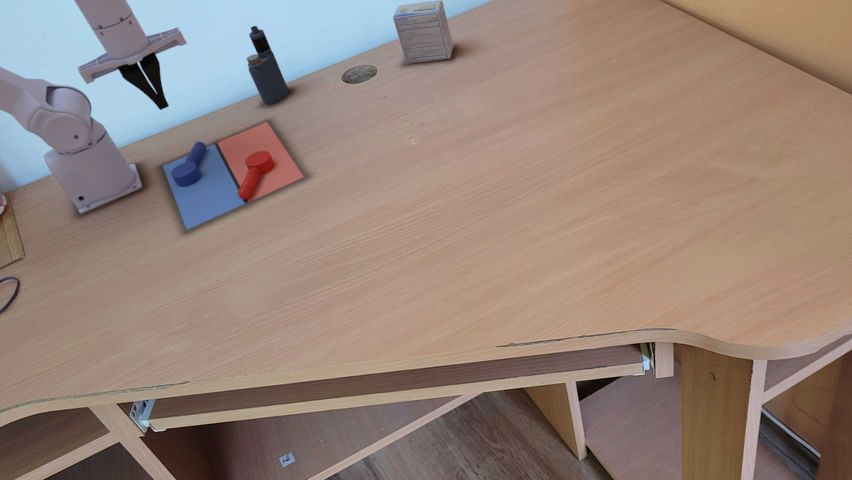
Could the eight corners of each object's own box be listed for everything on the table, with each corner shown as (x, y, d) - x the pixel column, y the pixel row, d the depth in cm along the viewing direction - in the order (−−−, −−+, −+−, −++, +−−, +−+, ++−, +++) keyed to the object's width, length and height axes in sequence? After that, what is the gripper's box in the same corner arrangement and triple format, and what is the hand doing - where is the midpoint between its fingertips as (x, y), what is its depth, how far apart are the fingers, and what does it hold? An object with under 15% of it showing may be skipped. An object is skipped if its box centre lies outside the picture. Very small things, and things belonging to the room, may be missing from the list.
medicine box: (454, 47, 124) (442, -2, 118) (450, 60, 121) (438, 10, 115) (410, 52, 125) (397, 4, 119) (406, 65, 122) (392, 16, 116)
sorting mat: (187, 230, 98) (186, 229, 98) (163, 167, 112) (162, 165, 112) (304, 177, 103) (303, 176, 103) (267, 122, 116) (266, 121, 116)
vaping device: (292, 90, 123) (264, 24, 114) (271, 106, 120) (241, 40, 112) (282, 88, 124) (253, 23, 116) (261, 104, 121) (230, 38, 113)
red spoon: (257, 200, 100) (252, 190, 99) (232, 203, 101) (227, 193, 100) (277, 159, 107) (273, 149, 106) (254, 161, 108) (249, 152, 107)
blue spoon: (192, 150, 114) (187, 141, 112) (215, 146, 113) (210, 137, 112) (173, 188, 106) (167, 179, 105) (197, 184, 106) (191, 175, 105)
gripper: (60, 49, 92) (119, 137, 101) (168, 7, 95) (215, 95, 105) (56, 32, 97) (113, 117, 106) (159, -8, 100) (205, 78, 110)
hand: (163, 105), depth 106 cm, fingers closed
